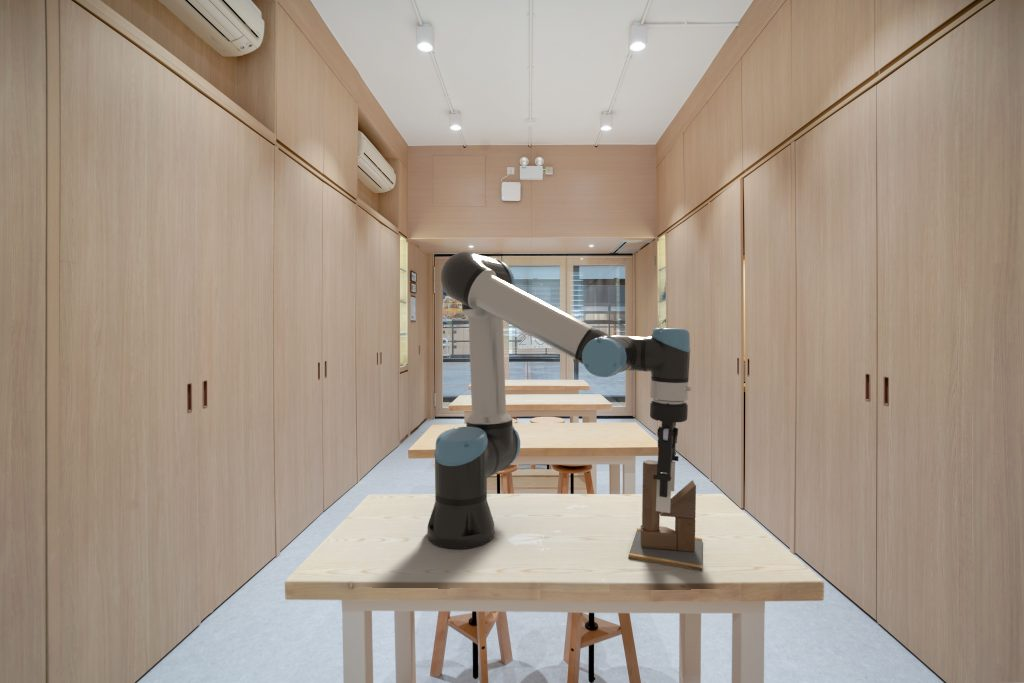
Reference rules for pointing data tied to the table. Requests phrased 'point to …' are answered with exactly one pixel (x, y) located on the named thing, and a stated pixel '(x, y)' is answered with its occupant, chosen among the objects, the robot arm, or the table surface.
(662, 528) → the wooden block assembly
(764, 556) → the table surface
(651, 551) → the mat
